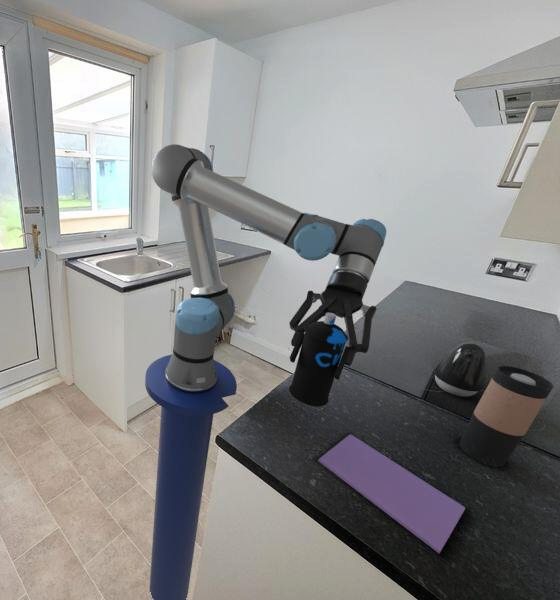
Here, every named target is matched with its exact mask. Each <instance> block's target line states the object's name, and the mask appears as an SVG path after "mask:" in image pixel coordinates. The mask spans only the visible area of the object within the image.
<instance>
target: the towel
mask: <svg viewBox="0 0 560 600" xmlns="http://www.w3.org/2000/svg"><path fill="white" fill-rule="evenodd" d="M318 463H319V464H321V465H322V466H323V467H325V468H326V469H328V470H329V471H330V472H332V473H333V474H334V475H336V476H337V477H338V478H340V480H342V481H343V482H345V483H346V484H347V485H349V487H352V488H353V489H354V490H355V491H357V492H358V493H359V494H361V496H363V497H364V498H365V499H367V500H368V501H369V502H371V503H372V504H373V505H374V506H376V507H378V509H380V510H381V511H383V512H384V513H386V514H387V515H388V516H389V517H391V518H392V519H393V520H395V521H396V522H397V523H398V524H400V525H401V526H402V527H404V528H405V529H406V530H408V531H409V532H410V533H412V534H413V535H414V536H416V537H417V538H418V539H419V540H421V542H423V543H425V545H427V546H429V547H430V548H431V549H432V550H434V551H435V552H436V553H437V554H441V552H442V550H443V548H444V546H445V545H446V544H447V542H448V540H449V538H450V536H451V535H452V532H453V531H454V530H455V528H456V526H457V524H458V522H459V520H460V519H461V517H462V515H463V514H464V512H465V510H466V507H465V506H463V505H462V504H461V503H459V502H457V501H456V500H455V499H453V498H451V497H449V496H448V495H447V494H445V493H443V492H442V491H440V490H439V489H437V488H435V487H434V486H433V485H431V484H430V483H427V482H426V481H425V480H423V479H422V478H421V477H418V476H417V475H415V474H414V473H412V472H411V471H409V470H407V469H406V468H404V467H403V466H401V465H400V464H398V463H397V462H395V461H393V460H392V459H391V458H389V457H387V456H386V455H384V454H382V453H381V452H379V451H378V450H376V449H375V448H374V447H372V446H370V445H369V444H367V443H365V442H364V441H362V440H361V439H360V438H357V437H356V436H354V435H353V434H349V435H347V436H346V437H345V438H343V439H342V440H341V441H339V442H338V443H337V444H335V446H334V447H331V448H330V449H329V450H328V451H326V452H325V454H323V455H322V456H320V457H319V458H318Z"/></svg>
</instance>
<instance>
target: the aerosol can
mask: <svg viewBox="0 0 560 600" xmlns="http://www.w3.org/2000/svg"><path fill="white" fill-rule="evenodd" d="M336 320H337V316H336V315H335V314H333V313H326V315H325V316H324V318H323V320H318V321H317V322H313V323H311V324H310V325H307V326H306V327H305V332H304V338H303V342H302V345H301V348H300V350H299V353H298V358H297V362H296V366H295V370H294V374H293V378H292V382H291V384H290V385H289V387H288V388H289V389H288V390H289V393H290V395H291V396H292V397H293V399H295V400H297V401H298V402H300V403H302V404H304V405H306V406H311V407H316V408H317V407H319V408H320V407H324V406H326V405H327V404H328V403H329V401H330V400H329V399H330V398H329V397H330V394H331V390H332V387H333V383H334V381H335V374H336V371H337V368H338V366H339V363H340V360H341V358H342V355H343V352H344V350H345V347H346V346H345V345H346V343H347V342H348V336H347V333H346V332H345V331H344V329H343V328H342V327H340V326H339V325H337V324H335V322H336Z"/></svg>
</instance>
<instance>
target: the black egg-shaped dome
mask: <svg viewBox="0 0 560 600" xmlns="http://www.w3.org/2000/svg"><path fill="white" fill-rule="evenodd" d="M433 372H434V380H435V383H436V385H437V386H438V387H439V388H440V390H441V389H442V391H444V392H445V393H448V394H450V395H453V396H457V397H465V398H466V397H472V396H474V395H476V394H477V393H479V392H480V391H482V390H483V388H484V387H485V383H486V379H487V372H488V358H487V354H486V351H485V350H484V348H483V347H482V346H481V345H479V344H477V343H474V342H463V343H461V344H458V345H457V346H455V347H454V348H452V349H451V350H450V351H449V352H448V353H447V354H445V356H444V357H443V358H442V359H441V361H440V362H439V363H438V364H437V366H436V367H435V369H434V371H433Z"/></svg>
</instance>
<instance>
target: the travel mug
mask: <svg viewBox="0 0 560 600" xmlns="http://www.w3.org/2000/svg"><path fill="white" fill-rule="evenodd" d="M553 389H554V384H553V383H552V382H551V381H550V380H549V379H547V378H545V377H543V376H541V375H539V374H537V373H534V372H532V371H529V370H526V369H523V368H519V367H515V366H510V365H500V366H498V367H497V368H496V370H495V372H494V373H493V375H492V377H491V379H490V381H489V383H488V384H487V387H486V388H485V390H484V392H483V394H482V396H481V398H480V400H479V401H478V403H477V405H476V406H475V408H474V410H473V413H472V415H471V417H470V419H469V421H468V423H467V426H466V428H465V430H464V432H463V434H462V437H461V439H460V441H459V447H460V449H461V450H462V451H463V452H464V453H465V454H466V455H468V456H469V457H470V458H472V459H473V460H475V461H478V462H479V463H481V464H484V465H486V466H490V467H495V468H500V467H503V466H504V465H505V464H506V463H507V461H508V460H509V459H510V457H511V455H512V454H513V453H514V452H515V450H516V448H517V447H518V445H519V444H520V443H521V441H522V440H523V438H524V437H525V435H526V434H527V432H528V431H529V429H530V427H531V425H532V424H533V422H534V421H535V419H536V417H537V415H538V414H539V412H540V410H541V409H542V407H543V405H544V403H546V400H547V398H548V397H549V395H550V393H551V391H552V390H553Z"/></svg>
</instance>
